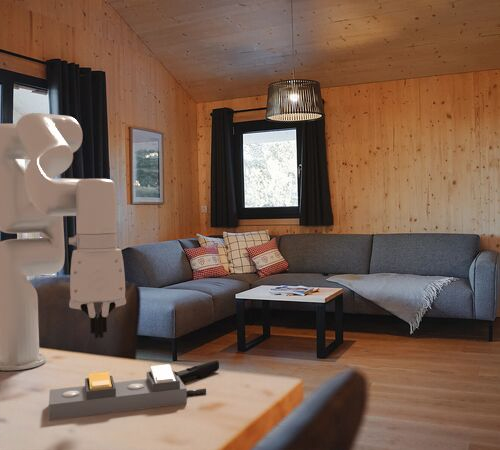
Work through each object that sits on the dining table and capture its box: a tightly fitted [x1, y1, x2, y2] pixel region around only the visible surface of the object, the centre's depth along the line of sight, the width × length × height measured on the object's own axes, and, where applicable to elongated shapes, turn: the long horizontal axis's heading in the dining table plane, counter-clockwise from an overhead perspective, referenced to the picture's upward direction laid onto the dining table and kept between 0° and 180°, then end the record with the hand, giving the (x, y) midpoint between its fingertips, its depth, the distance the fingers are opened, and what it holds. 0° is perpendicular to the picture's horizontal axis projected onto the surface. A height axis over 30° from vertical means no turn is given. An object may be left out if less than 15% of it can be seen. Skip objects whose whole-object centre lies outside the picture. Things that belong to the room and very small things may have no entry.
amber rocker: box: [88, 371, 112, 390], centre depth 112 cm, size 7×4×1 cm, turn 18°
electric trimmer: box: [173, 360, 220, 384], centre depth 129 cm, size 4×16×3 cm, turn 137°
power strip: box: [48, 368, 207, 421], centre depth 114 cm, size 9×31×5 cm, turn 108°
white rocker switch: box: [149, 363, 176, 383], centre depth 116 cm, size 7×4×1 cm, turn 18°
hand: (98, 336), depth 110 cm, fingers closed
